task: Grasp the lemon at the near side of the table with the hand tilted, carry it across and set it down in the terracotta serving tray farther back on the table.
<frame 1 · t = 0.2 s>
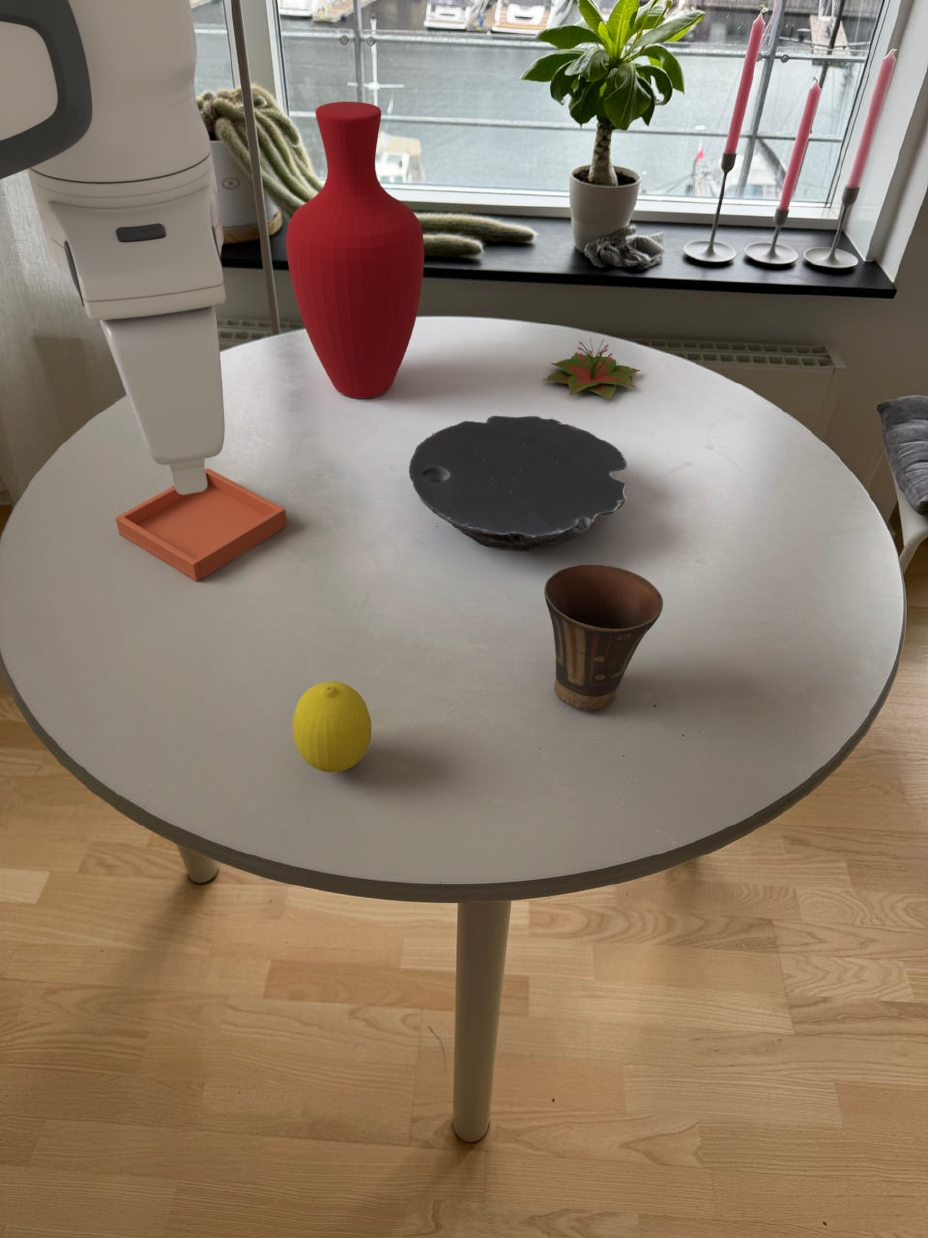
hand: (179, 443, 59), 24 cm above the table, tool pointing down, fingers open, 8 cm apart
lemon: (336, 766, 71), on the table
tray: (204, 530, 92), on the table
board: (516, 511, 96), on the table
vase: (363, 387, 115), on the table
lily flower: (591, 381, 117), on the table
cup: (589, 686, 78), on the table
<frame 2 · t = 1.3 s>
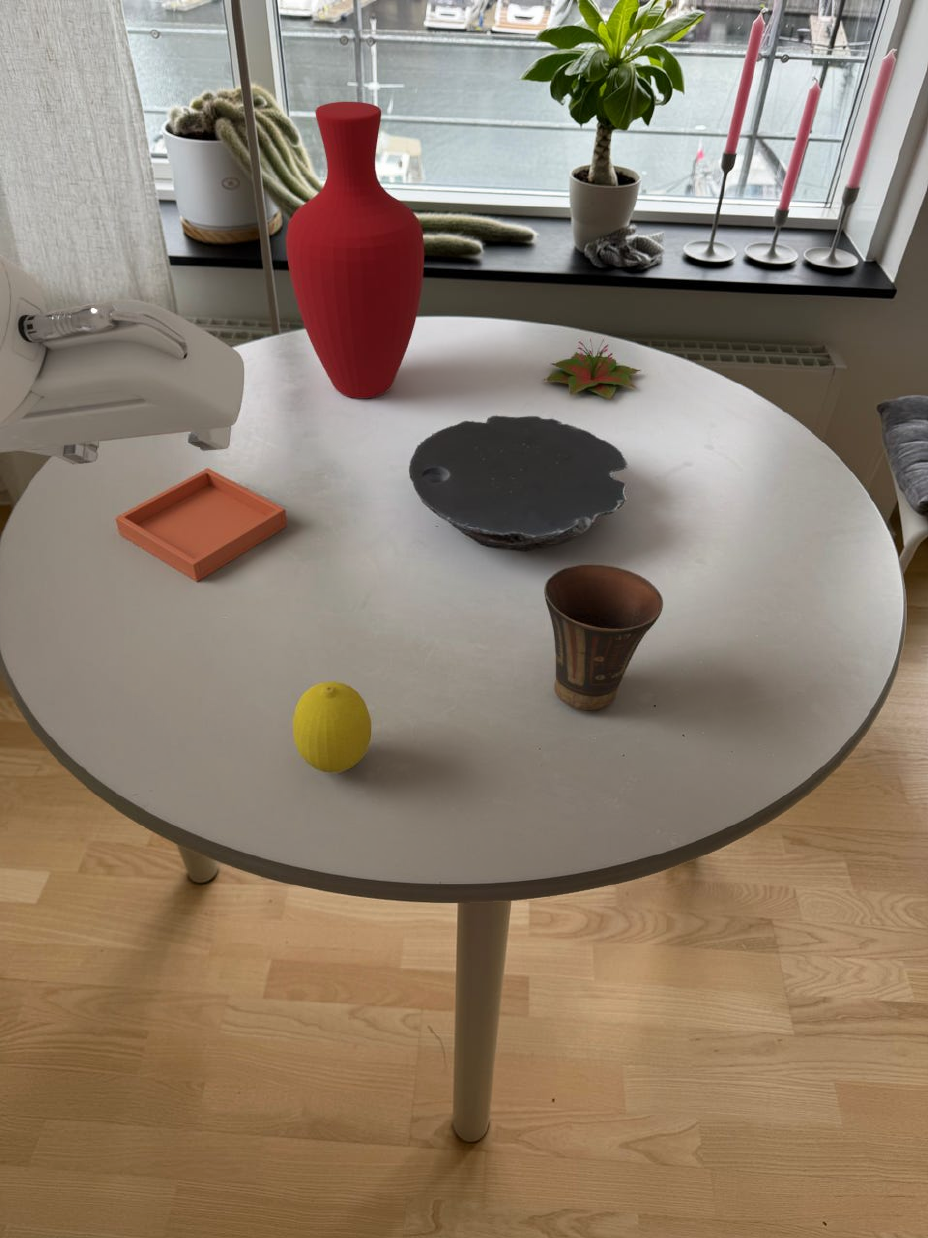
hand: (152, 444, 56), 25 cm above the table, tool tilted 45°, fingers open, 8 cm apart
nothing on the table moved.
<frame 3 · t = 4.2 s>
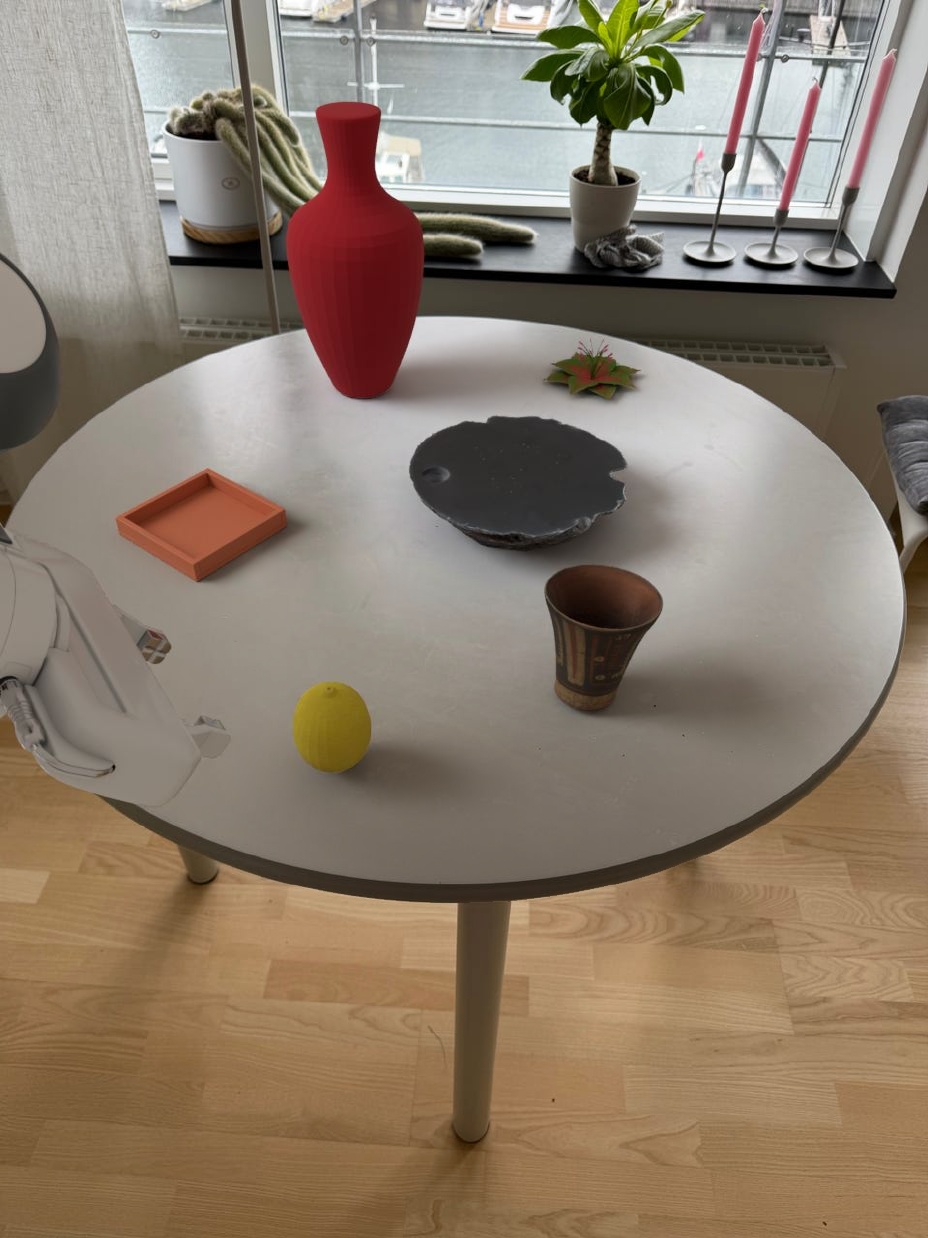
hand: (190, 692, 60), 12 cm above the table, tool tilted 45°, fingers open, 8 cm apart
nothing on the table moved.
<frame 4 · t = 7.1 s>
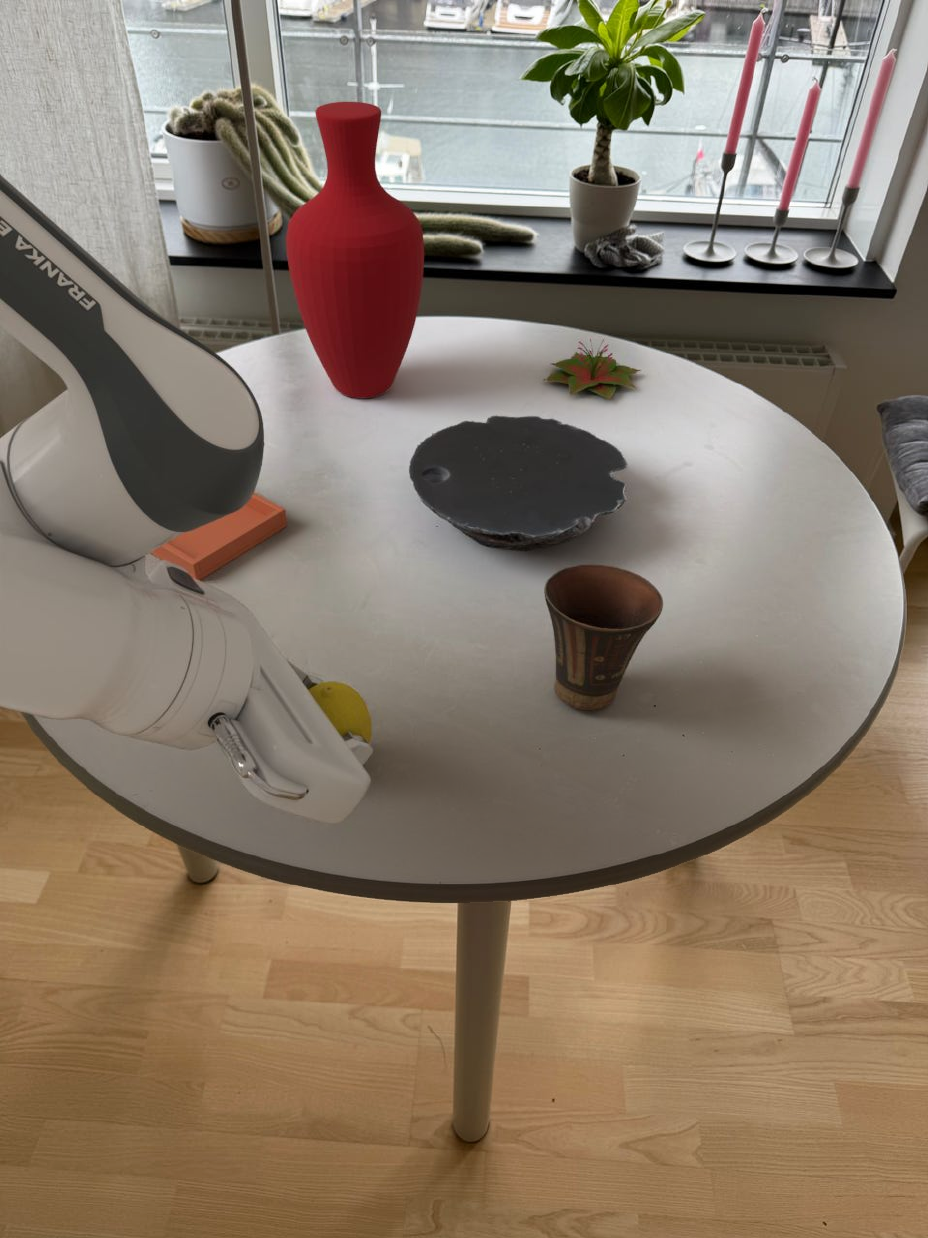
hand: (339, 720, 68), 4 cm above the table, tool tilted 45°, fingers closed on lemon, 5 cm apart
lemon: (336, 766, 71), on the table, touching gripper
everything else where it was.
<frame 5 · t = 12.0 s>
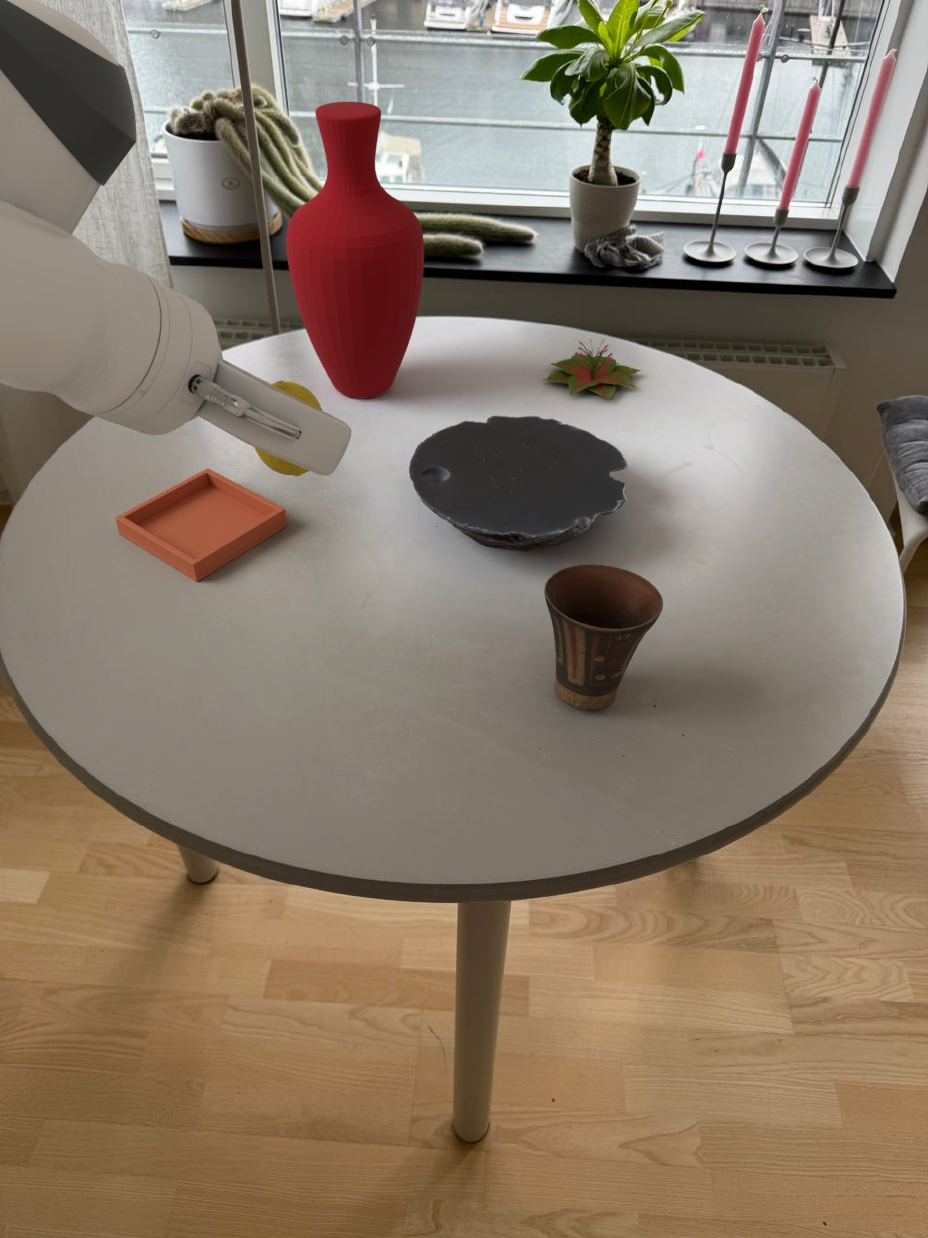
hand: (293, 422, 70), 19 cm above the table, tool tilted 50°, fingers closed on lemon, 5 cm apart
lemon: (298, 476, 73), point 15 cm above the table, touching gripper
everything else where it was.
when the fingers open (5 cm above the table, at t = 17.2 s): lemon stays where it is, resting on tray.
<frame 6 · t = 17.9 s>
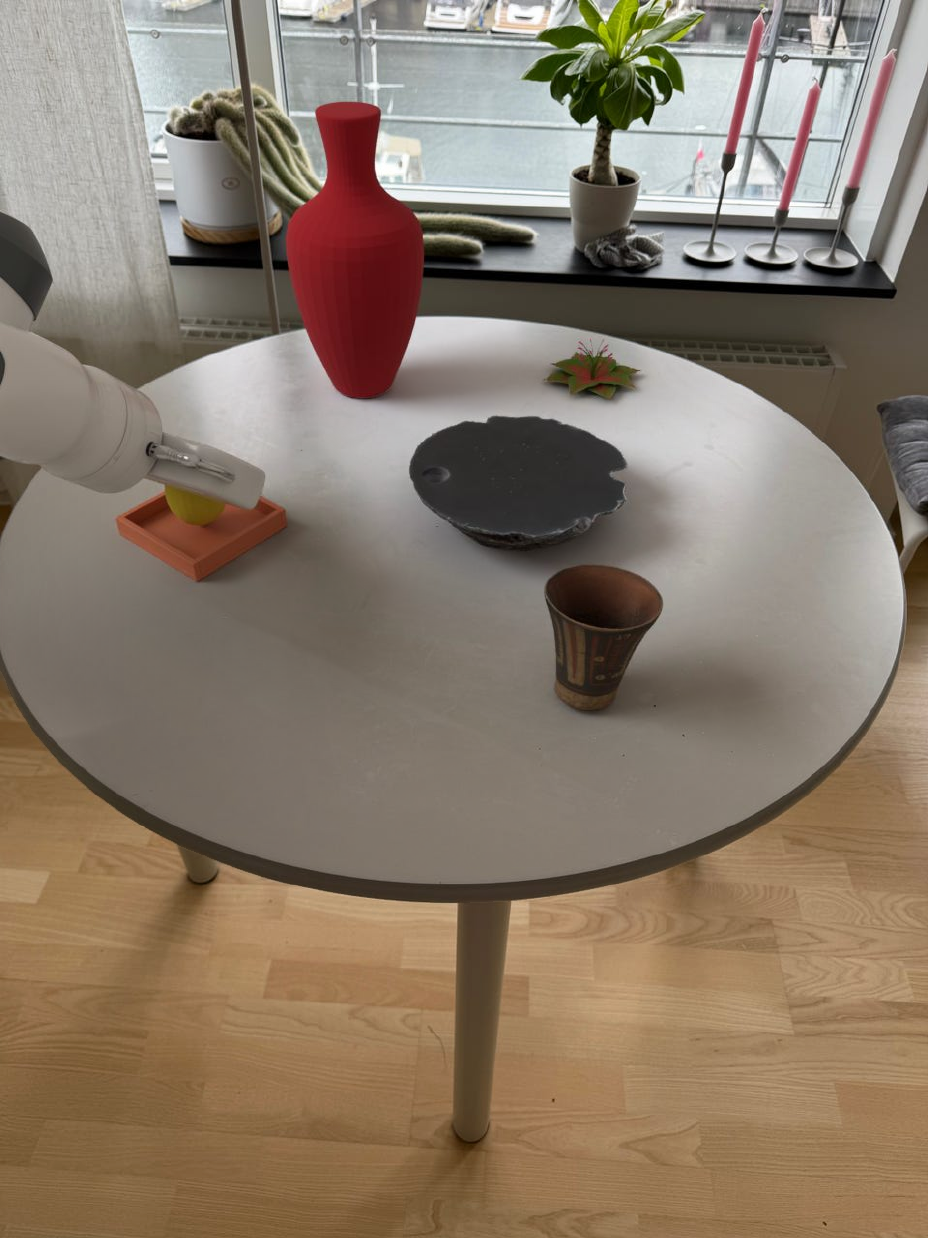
hand: (199, 478, 89), 6 cm above the table, tool tilted 45°, fingers open, 8 cm apart
lemon: (203, 526, 92), resting on tray
everything else where it was.
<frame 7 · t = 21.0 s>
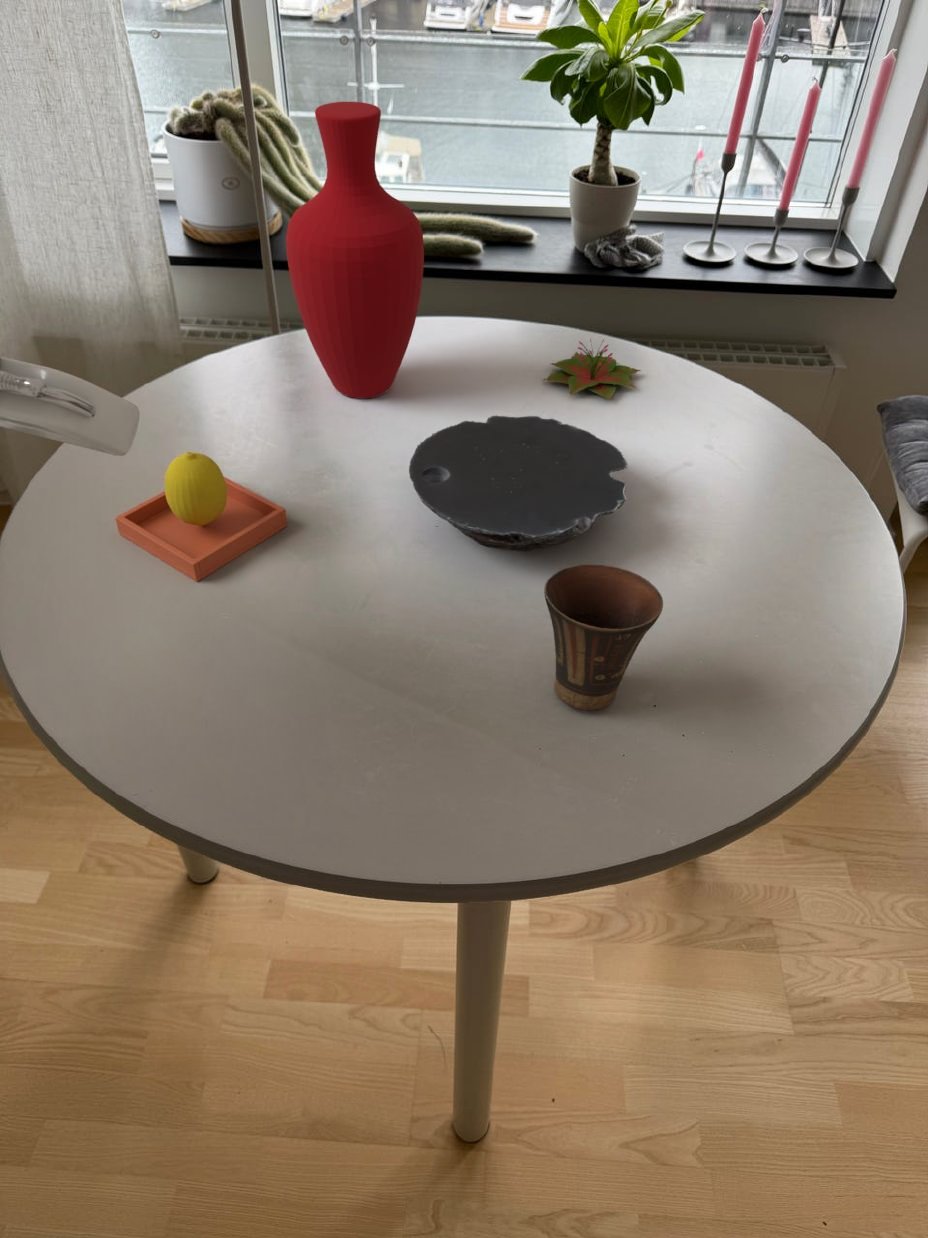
hand: (68, 427, 73), 17 cm above the table, tool tilted 45°, fingers open, 8 cm apart
nothing on the table moved.
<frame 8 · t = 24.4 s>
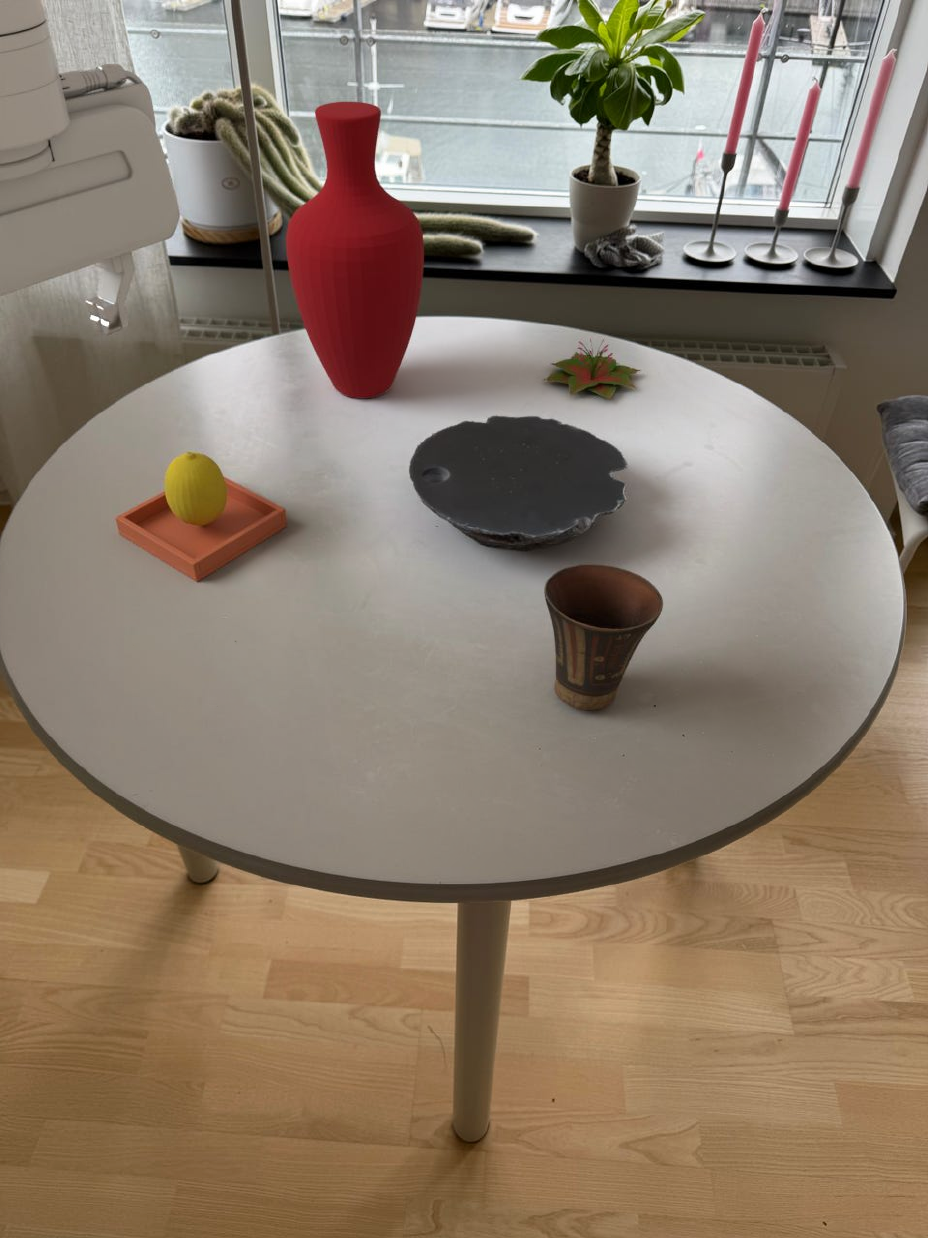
hand: (43, 355, 56), 29 cm above the table, tool pointing down, fingers open, 8 cm apart
nothing on the table moved.
at the end: lemon inside the target area in the tray (0.1 cm from its centre), point 0.3 cm above the tray's base; the gripper is holding nothing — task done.
